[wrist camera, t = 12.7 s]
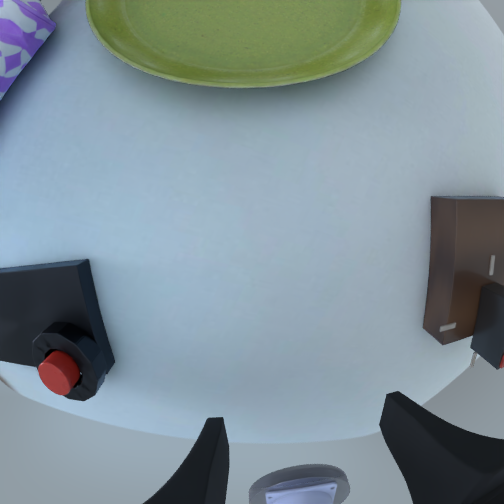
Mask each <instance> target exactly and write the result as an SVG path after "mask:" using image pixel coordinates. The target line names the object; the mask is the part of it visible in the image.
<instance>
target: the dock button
mask: <svg viewBox="0 0 504 504" xmlns="http://www.w3.org/2000/svg"><path fill="white" fill-rule="evenodd" d="M38 372H39V376H40V378H41V380H42V382H43V383H44V384H45V386H46V387H47V388H48V389H50V390H51V391H52V392H54V393H56V394H58V395H66V394H68V393H69V392H70V390H71V389H72V388H73V386H74V385H75V384H76V382H77V381H78V380H79V378H80V370H79V367H78V365H77V363H76V362H75V361H74V360H73V359H72V357H71V356H70V355H68V354H67V353H65V352H63V351H59V350H57V351H53V352H52V353H51V354H50V355H49V356H48V357H47V358H46V359H45V360H44V361H43V362H42V363H41V364H40V365H39V369H38Z"/></svg>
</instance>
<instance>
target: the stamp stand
mask: <svg viewBox="0 0 504 504" xmlns="http://www.w3.org/2000/svg"><path fill="white" fill-rule="evenodd" d="M496 282H497V283H499V284H501V285H503V286H504V197H498V196H431V251H430V268H429V281H428V292H427V301H426V309H425V317H424V324H423V329H425V330H426V331H427V332H428V333H429V334H430V335H432V336H433V337H434V338H435V339H436V340H437V341H438V342H440V343H441V344H442V345H445V344H448V343H452V342H455V341H458V340H461V339H464V338H467V337H470V336H472V335H473V334H474V329H475V324H476V319H477V314H478V308H479V302H480V296H481V289H482V286H485V285H489V284H492V283H496ZM476 356H477V353H476V352H474V353H473V357H472V360H471V364H470V368H471V367H473V366H474V363H475V359H476Z"/></svg>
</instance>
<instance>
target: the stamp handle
mask: <svg viewBox="0 0 504 504" xmlns="http://www.w3.org/2000/svg"><path fill="white" fill-rule="evenodd" d="M470 348H472V349H473V350H474V351H475V352H476V353H478V354H479V355H480V356H481V357H483V358H484V359H485V360H486V361H487V362H489V363H490V364H491V365H492V366H493V367H495V368H496V369H499V368H503V367H504V286H503V285H501V284H499V283H497V282H496V283H492V284H489V285H485V286H482V289H481V296H480V302H479V308H478V314H477V319H476V324H475V329H474V334H473V338H472V342H471V347H470Z"/></svg>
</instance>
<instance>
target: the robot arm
mask: <svg viewBox="0 0 504 504" xmlns="http://www.w3.org/2000/svg"><path fill="white" fill-rule="evenodd" d="M379 425H380V428H381V431H382V434H383V436H384V439H385V442H386V444H387V446H388V448H389V450H390V452H391V453H392V455H393V457H394V459H395V461H396V463H397V465H398V467H399V469H400V470H401V472H402V474H403V476H404V478H405V481H406V483H407V486H408V489H409V491H410V494H411V498H412V501H413V504H504V439H497V438H491V437H487V436H482V435H479V434H476V433H472V432H469V431H466V430H464V429H462V428H459V427H457V426H454V425H452V424H450V423H448V422H446V421H444V420H443V419H441V418H439V417H437V416H436V415H434V414H432V413H431V412H429V411H427V410H426V409H424V408H423V407H421V406H420V405H418V404H417V403H415V402H414V401H412V400H411V399H409V398H408V397H407V396H405V395H404V394H402V393H401V392H399V391H396V392H393V393H389V394H386V399H385V403H384V408H383V412H382V416H381V420H380V424H379ZM228 474H229V444H228V439H227V434H226V429H225V424H224V419H223V417H216V418H208V419H207V420H206V422H205V425H204V427H203V429H202V431H201V433H200V435H199V437H198V439H197V441H196V443H195V444H194V446H193V448H192V449H191V451H190V453H189V454H188V456H187V457H186V459H185V460H184V461H183V463H182V464H181V466H180V467H179V468H178V470H177V471H176V472H175V473H174V475H173V476H172V477H171V478H170V479H169V480H168V481H167V483H166V484H165V485H164V486H163V487H162V488H161V489H159V490H158V491H157V492H156V493H155V494H154V495H153V496H152V497H151V498H149V499H148V500H147V501H146V502H144V503H143V504H225V500H226V491H227V483H228ZM336 488H337V483H336V482H331V483H326V484H320V485H315V486H309V487H302V488H295V489H288V490H279V491H270V492H266V494H265V496H266V503H267V504H333V501H334V497H335V493H336Z"/></svg>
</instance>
